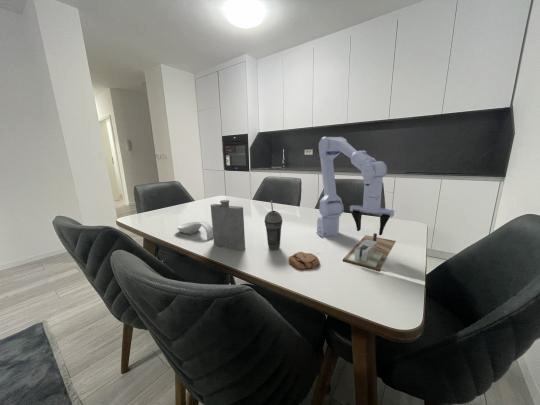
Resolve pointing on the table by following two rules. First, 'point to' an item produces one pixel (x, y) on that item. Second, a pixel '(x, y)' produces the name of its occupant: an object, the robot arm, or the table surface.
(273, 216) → the beverage cup
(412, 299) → the table surface
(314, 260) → the cookie
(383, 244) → the stand
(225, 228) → the hip flask
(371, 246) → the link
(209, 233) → the white curved piece
